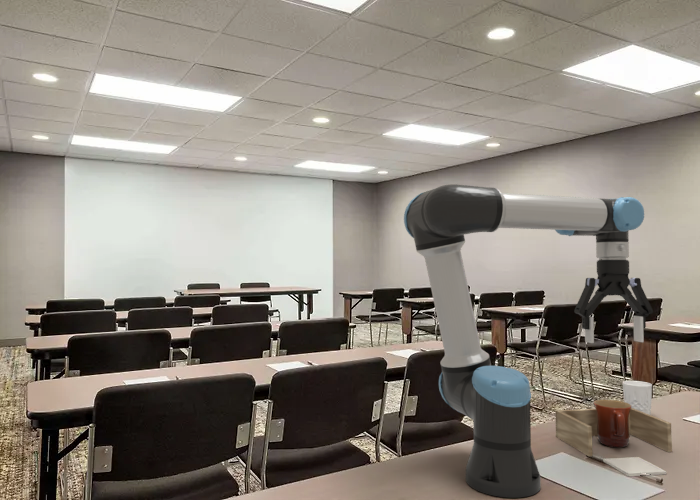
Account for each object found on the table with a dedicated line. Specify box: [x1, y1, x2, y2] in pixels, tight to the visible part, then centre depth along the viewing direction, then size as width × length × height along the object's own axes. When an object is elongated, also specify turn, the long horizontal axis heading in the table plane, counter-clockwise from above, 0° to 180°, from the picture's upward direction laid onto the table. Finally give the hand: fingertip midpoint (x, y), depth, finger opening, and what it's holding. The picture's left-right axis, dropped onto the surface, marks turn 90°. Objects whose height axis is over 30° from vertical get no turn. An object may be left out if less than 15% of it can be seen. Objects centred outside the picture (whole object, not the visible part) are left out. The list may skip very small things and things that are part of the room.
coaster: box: [602, 456, 668, 477], centre depth 118 cm, size 9×9×1 cm
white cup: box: [622, 380, 653, 415], centre depth 159 cm, size 8×8×10 cm
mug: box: [593, 399, 632, 449], centre depth 132 cm, size 12×9×10 cm
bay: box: [555, 408, 673, 457], centre depth 134 cm, size 22×15×7 cm
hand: (614, 342), depth 133 cm, fingers open, 13 cm apart
